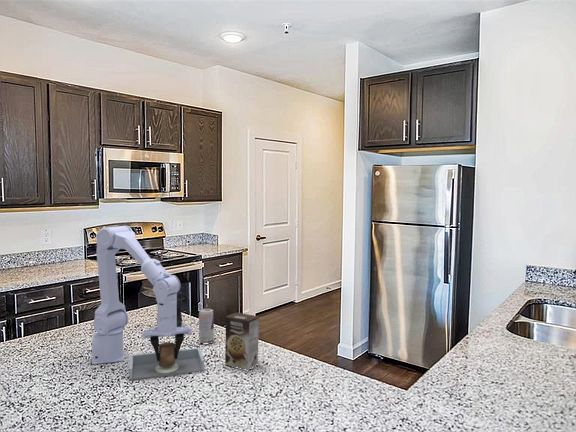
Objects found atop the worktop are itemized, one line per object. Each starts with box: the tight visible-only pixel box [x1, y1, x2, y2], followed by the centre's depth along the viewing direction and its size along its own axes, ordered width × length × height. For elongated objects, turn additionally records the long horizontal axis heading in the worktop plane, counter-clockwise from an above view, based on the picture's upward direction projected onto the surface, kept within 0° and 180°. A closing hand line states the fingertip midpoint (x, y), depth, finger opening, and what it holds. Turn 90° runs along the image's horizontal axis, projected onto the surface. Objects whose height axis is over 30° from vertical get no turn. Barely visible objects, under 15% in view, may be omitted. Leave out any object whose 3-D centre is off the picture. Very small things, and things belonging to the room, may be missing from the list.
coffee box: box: [224, 312, 260, 371], centre depth 133 cm, size 9×6×16 cm
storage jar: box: [177, 289, 183, 327], centre depth 168 cm, size 10×10×15 cm
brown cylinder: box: [159, 341, 175, 367], centre depth 129 cm, size 5×5×6 cm
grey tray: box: [128, 347, 205, 382], centre depth 130 cm, size 22×11×4 cm, turn 109°
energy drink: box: [198, 308, 215, 344], centre depth 153 cm, size 5×5×12 cm
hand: (167, 358), depth 129 cm, fingers closed on brown cylinder, 5 cm apart
